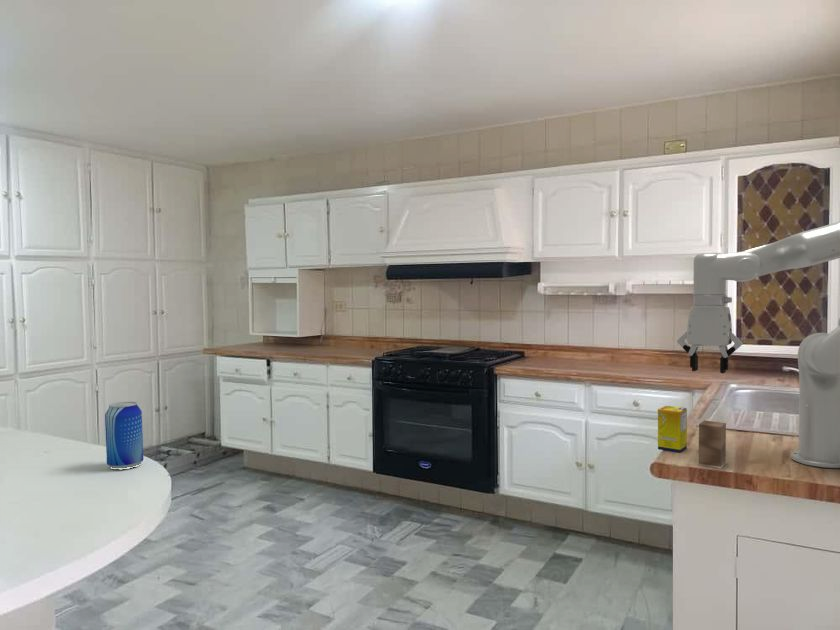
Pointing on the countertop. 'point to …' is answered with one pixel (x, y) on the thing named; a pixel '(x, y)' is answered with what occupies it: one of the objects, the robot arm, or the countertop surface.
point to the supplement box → (672, 428)
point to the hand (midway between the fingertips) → (708, 371)
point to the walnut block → (712, 444)
